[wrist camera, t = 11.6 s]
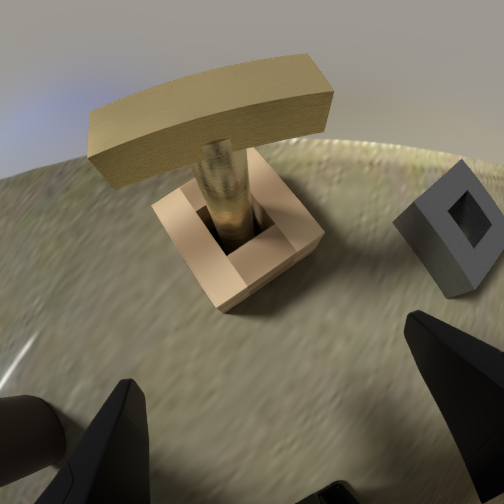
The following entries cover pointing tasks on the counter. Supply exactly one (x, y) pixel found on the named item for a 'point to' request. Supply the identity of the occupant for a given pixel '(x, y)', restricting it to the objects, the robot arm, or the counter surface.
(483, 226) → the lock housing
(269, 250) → the tan square ring block
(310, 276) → the counter surface
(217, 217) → the T-key
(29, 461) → the bottle
